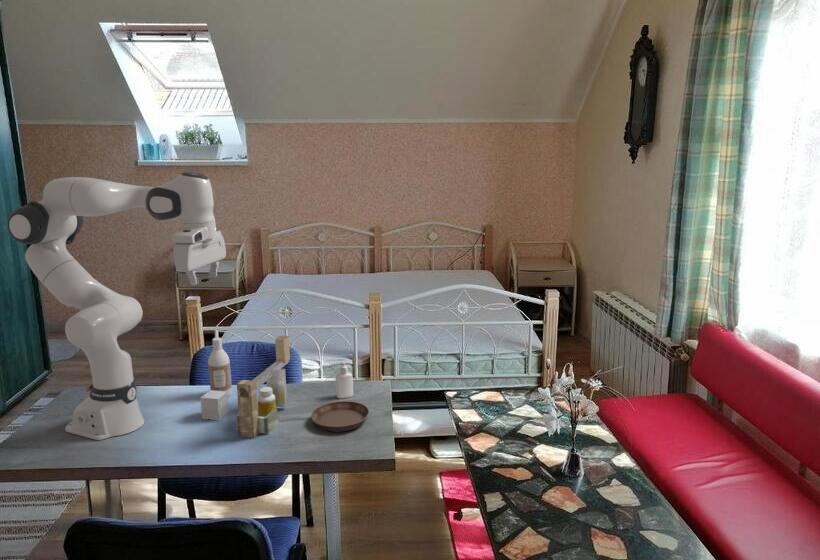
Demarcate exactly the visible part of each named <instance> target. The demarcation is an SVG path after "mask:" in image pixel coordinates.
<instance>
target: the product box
mask: <svg viewBox="0 0 820 560" xmlns="http://www.w3.org/2000/svg"><path fill="white" fill-rule="evenodd" d="M200 408H201V409H200V410H201V419H202V420H208V419H210V421H221V420H222V419H223V418H222V417H223V416H224V417H225V416H227V414H229V402H228V396H227V392H226V391H213V390H211V389H209V391H207V392H206V393H204V394H203V395H201V396H200Z"/></svg>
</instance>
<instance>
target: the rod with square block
mask: <svg viewBox="0 0 820 560" xmlns="http://www.w3.org/2000/svg"><path fill="white" fill-rule="evenodd" d="M274 343H275V344H274V347H275V359H276V360H275V361H274V362H273V363H272V364H271V365H270V366H268V367H266V368H265V370H263V371H262V372H261V373H260V374H258V375H257V376H255V377H254V378H253V379H252V380H251V381H256V390H257V389H259V388H260V387H261V386H262V385H263V384H264V383H266V387H271V388H272V391H273V393H272V394H274V395H275V401H276V408H278V407H279V408H287V407H288V392H287V380H286V379H287V378H286V368H284V367H285V366H286V365H287V364H288V363H290V360H291V352H290V351H291V350H290V336H288V335H279V336H278V337H276V338H275V339H274ZM244 390H245V393H249V391H248V389H247V388H244Z"/></svg>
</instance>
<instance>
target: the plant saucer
mask: <svg viewBox="0 0 820 560" xmlns="http://www.w3.org/2000/svg"><path fill="white" fill-rule="evenodd" d="M369 415H370V409H369V408H368V406H366V405H364V404H362V403H360V402H357V401H350V400H349V401H347V400H346V401H345V400H343V401H342V400H341V401H334V402H329V403H326V404H322V405H320V406H318V407H317V408H315V409H314V410H313V411H312V412H311V420H312V421H313V422H314V424H315V425H317V426H318V427H319V428H320V429H322V430H324V431H327V432H328V431H329V432H336V433H337V432H338V433H339V432H347V431H351V430H354V429H356V428H359V427H361V426H362V424H363V423H364V422H365V421H366V419H368V416H369Z"/></svg>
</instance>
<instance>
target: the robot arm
mask: <svg viewBox="0 0 820 560" xmlns="http://www.w3.org/2000/svg"><path fill="white" fill-rule="evenodd" d="M42 193H43V194H42V195H43V196H42V199H41V200H40V201H38V202H37V201H34V200H32V201H29V202H28V203H26V204H25V205H23V206H21V207H18V208H17V209H15V210H13V211H12V212H11V214H9V216H8V218H7V222H6V223H7V224H6V227H7V231H8V234H9V235H10V236H11V238H13V240H14V241H16V242H17V243H20V244H23V245H30V246H28V248H27V250H26V251H25V255H24V259H25V262H26V263H27V265H28V266H29V268H30V270H31V271H32V272H33V274H34V276H36V278H37V279H38V280H39V281H40V283H41V284H42V285H43V286H44V287H45V288H46V289H47V290H48V291H49V292H50V293H51V294H52V295H53V296H54V298H55V299H57V301H59V303H61V304H62V305H64V306H65V307H72V308H75V309H79V311H78V312H77V313H75V314H73V315H72V316H71V317H70V318H68V320H66V322H65V326H64V333H65V336H66V338H67V340H68V342H70V343H71V345H72V346H74V347H76V348H78V349H80V350H81V351H82V352H83V353H84V355H85V356H86V358H87V360H88V363H89V368H90V373H91V379H92V384H90V385H89V386H88V387H86V388H85V390H86V391H85V392H86V393H88V392H89V391H90V392H89V396H88V397H87V398H85V399H84V400H83V401H82V402H81V403H79V405H77V406H76V407H75V408H74V410H73V412H72V413H73V414H72V420H71V421H70V422H69V423H67V425H66V426H65V431H64V432H67V433H69V434H73V435H77V436H79V437H80V436H81V437H84V438H88V439H90V440H91V439H92V440H95V441H101V440H104V439H109V438H112V437H113V438H114V437H118V436H122V435H127V434H129V433H132V432H134V431H137V430H138V429H140V428H141V427H142V426H143V425H144V424H145V418H144V416H143V414H142V412H141V408H140V404H139V401H138V398H137V391H138V390H137V384H136V383H137V382H136V379H135V378H134V371H133V363H132V362H133V361H132V357H131V355H130V354H129V352H127V351H125V350H123V349H121V347H120V346H119V343H118V337H119V336H121V335H123V334H126V333H128V332H129V331H131V330H132V329H134V328H135V327H136V326H137V325H138V324H139V323H140V322H141V321H142V319H143V315H144V314H143V313H144V312H143V308H142V305H141V303H140V302H139V301H138V299H136V298H134V297H132V296H129V295H128V296H127V295H123V294H120V293H118V292H116V291H114V290H112V289H110V288H109V287H108V286H105V285H103V284H102V283H100V281H98V280H97V279H96V278H94V277H93V276H92V275H91V273H89V272H88V271H87V270H86V269H85V268H84V267H83V266H82V264H80V263H79V261H77V259H76V258H74V257H73V255H72V254H71V253H70V252H69V251H68V249H67V247H66V246H67V245H70V244H73V242H74V240H75V238H76V237H77V235H78V234H79V233H80V231H81V230H82V227H83V224H84V219H83V218H84V217H85V218H86V217H88V218H89V217H90V218H91V217H92V218H93V217H94V218H95V217H102V216H108V215H112V214H116V213H120V212H124V211H128V210H133V209H141V208H146V210H147V212H148V214H149V216H151V217H152V218H153V219H155V220H158V221H165V222H167V221H171V220H176V219H180V221H181V226H180V227H179V228H178V230H177V231H175V232H174V233H173V234H172V235H171V241H172V243H173V244H174V245H173V259H174V266H175V269H176V270H177V271H178V272H182V273H183V272H184V273H185V274H186V276H187V277H188V279H189V284H190V285H191V286H197V285H198V284H200V280H199V277H197V276H196V274H197V269H199V268H202V267H205V266H207V265H210V270H209V271H208V276H209V278H216V277H218V268H219V265H220V262H219V261H221V260H224V259H226V257H227V249H226V243H225V238H224V236H223V234H222V232H221V230H220V229H219V228H218V227H217V225H216V218H215V215H214V206H215V202H214V193H213V188H212V183H211V181H210V179H209V177H208V176H207V175H205V174H203V173H199V172H191V171H186V172H180V173H179V174H178V175H177V176H176V177H175V178H174V179H172V180H170V181H168V182H166V183H163V184H161V185H157V186H154V185H153V186H150V185H134V184H128V183H121V182H117V181H111V180H105V179H100V178H95V177H85V176H83V177H82V176H69V177H60V178H54V179H52V180H50V181H48V183H46V184H45V186H44V188H43V192H42Z"/></svg>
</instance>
